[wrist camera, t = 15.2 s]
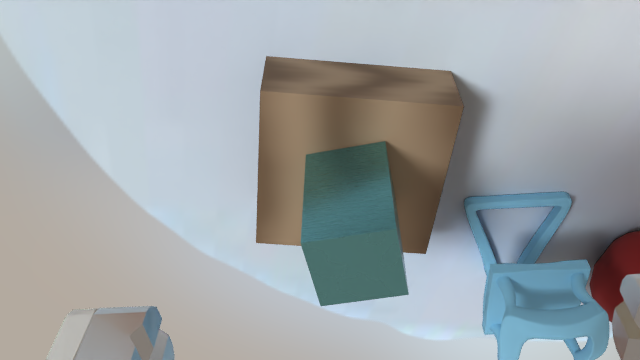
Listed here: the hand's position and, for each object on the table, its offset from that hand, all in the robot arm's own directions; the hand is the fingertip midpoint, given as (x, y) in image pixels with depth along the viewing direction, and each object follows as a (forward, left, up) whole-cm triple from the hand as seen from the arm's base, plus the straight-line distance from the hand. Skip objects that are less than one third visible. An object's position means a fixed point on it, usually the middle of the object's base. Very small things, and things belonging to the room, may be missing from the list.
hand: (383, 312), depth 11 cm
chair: (-11, +25, -29) cm, 40 cm away
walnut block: (+1, +15, -29) cm, 33 cm away
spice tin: (+1, +15, -24) cm, 28 cm away
